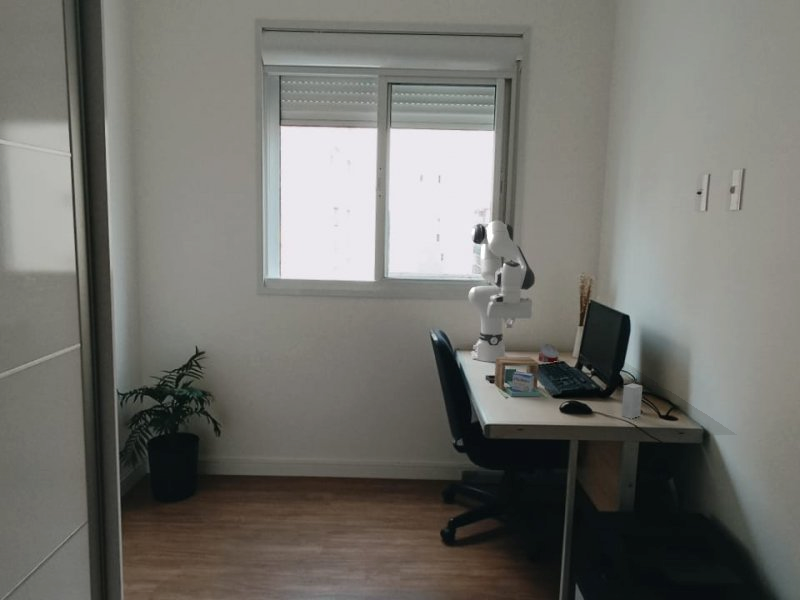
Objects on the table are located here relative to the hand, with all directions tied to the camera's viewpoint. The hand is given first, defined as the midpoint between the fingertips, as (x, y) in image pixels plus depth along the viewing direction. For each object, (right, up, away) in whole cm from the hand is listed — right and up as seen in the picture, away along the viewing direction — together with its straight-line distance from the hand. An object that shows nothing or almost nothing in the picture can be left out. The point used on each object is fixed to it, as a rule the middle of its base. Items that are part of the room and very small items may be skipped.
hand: (508, 327), depth 247 cm
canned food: (+29, -20, +40) cm, 54 cm away
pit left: (-7, -24, -1) cm, 25 cm away
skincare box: (+37, -31, -45) cm, 66 cm away
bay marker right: (+10, -27, -20) cm, 35 cm away
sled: (+1, -26, -13) cm, 29 cm away
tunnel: (+1, -25, -11) cm, 28 cm away
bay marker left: (-7, -27, -22) cm, 35 cm away
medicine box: (+2, -27, -20) cm, 33 cm away
